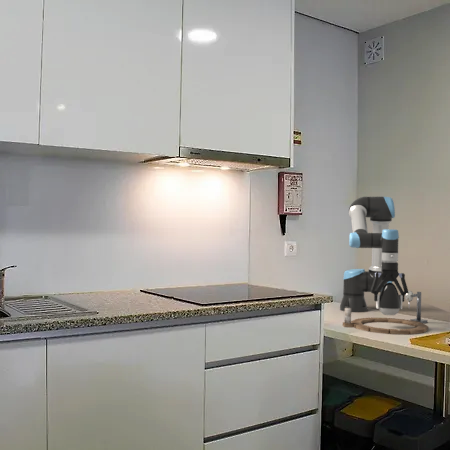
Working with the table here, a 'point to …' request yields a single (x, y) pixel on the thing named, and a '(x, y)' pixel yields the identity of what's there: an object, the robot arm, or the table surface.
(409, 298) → the dial indicator stand
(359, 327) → the turntable ring
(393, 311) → the pump dispenser
